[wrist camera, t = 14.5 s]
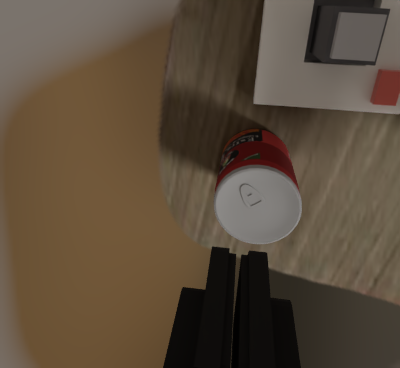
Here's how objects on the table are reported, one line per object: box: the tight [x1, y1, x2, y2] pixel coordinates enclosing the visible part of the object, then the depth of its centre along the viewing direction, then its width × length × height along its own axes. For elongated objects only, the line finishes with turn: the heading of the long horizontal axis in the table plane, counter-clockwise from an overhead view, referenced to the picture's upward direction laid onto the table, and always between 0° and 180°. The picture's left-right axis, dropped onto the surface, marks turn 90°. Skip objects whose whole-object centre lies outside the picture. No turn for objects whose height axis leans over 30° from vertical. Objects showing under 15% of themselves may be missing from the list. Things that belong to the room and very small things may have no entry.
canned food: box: [214, 129, 302, 244], centre depth 35 cm, size 8×8×11 cm
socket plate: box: [253, 0, 400, 114], centre depth 31 cm, size 14×14×3 cm
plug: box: [310, 6, 390, 66], centre depth 29 cm, size 4×4×8 cm
